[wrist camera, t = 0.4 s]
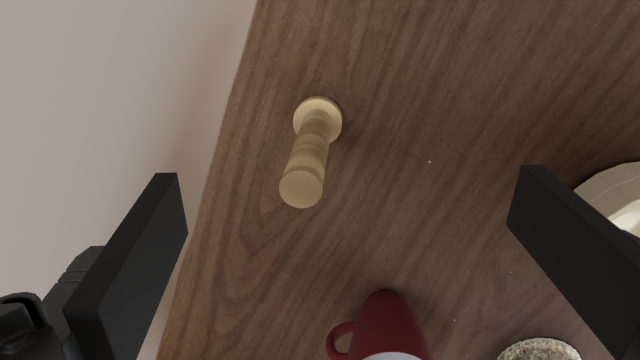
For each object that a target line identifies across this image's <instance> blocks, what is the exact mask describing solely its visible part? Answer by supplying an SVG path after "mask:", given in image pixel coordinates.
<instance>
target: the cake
mask: <svg viewBox="0 0 640 360" xmlns="http://www.w3.org/2000/svg"><path fill="white" fill-rule="evenodd" d="M497 360H581V358H580V356H579V354H578V353H577V351H576V350H575V349H573V348H572V346H570V345H568V344H566V343H565V342H561V341H559V340H554V339H551V338H549V339H548V338H547V339H546V338H532V339H527V340H524V341H519V342H517V343H516V344H512V345H511V346H509V347H508V348H506V349H505V350H504V351H503V352H501V354H500V355H499V356H498V357H497Z"/></svg>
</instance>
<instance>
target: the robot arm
mask: <svg viewBox="0 0 640 360" xmlns="http://www.w3.org/2000/svg"><path fill="white" fill-rule="evenodd" d="M506 225H507V227H508V228H509V229H510V230H511V232H512V233H513V234H514V235H515V236H516V238H517V239H518V240H519V241H520V243H521V244H522V245H523V246H524V248H525V249H526V250H527V251H528V253H529V254H530V255H531V256H532V257H533V259H534V260H535V261H536V262H537V264H538V265H539V266H540V267H541V269H542V270H543V271H544V272H545V273H546V275H547V276H548V277H549V278H550V280H551V281H552V282H553V283H554V285H555V286H556V287H557V288H558V289H559V291H560V292H561V293H562V294H563V296H564V297H565V298H566V299H567V301H568V302H569V303H570V304H571V305H572V307H573V308H574V309H575V310H576V312H577V313H578V314H579V315H580V317H581V318H582V319H583V320H584V322H585V323H586V324H587V325H588V326H589V328H590V329H591V330H592V331H593V333H594V334H595V335H596V336H597V338H598V339H599V340H600V341H601V342H602V344H603V345H604V346H605V347H606V349H607V350H608V351H609V352H610V354H611V355H612V356H613V357H614V358H615V360H640V238H639V237H637V236H635V235H633V234H632V233H630V232H628V231H626V230H621V229H620V228H618V227H617V226H616V225H615V224H613V223H612V222H611V221H610V220H609V219H607V218H606V217H605V216H604V215H602V214H601V213H600V212H599V211H597V210H596V209H595V208H594V207H592V206H591V205H590V204H589V203H588V202H586V201H585V200H584V199H583V198H581V197H580V196H579V195H578V194H576V193H575V192H574V191H573V190H571V189H570V188H569V187H568V186H566V185H565V184H564V183H563V182H562V181H560V180H559V179H558V178H557V177H555V176H554V175H553V174H552V173H550V172H549V171H548V170H547V169H545V168H544V167H543V166H542V165H521V169H520V173H519V176H518V180H517V184H516V187H515V191H514V195H513V199H512V202H511V206H510V210H509V213H508V217H507V221H506ZM187 235H188V230H187V224H186V219H185V213H184V208H183V203H182V198H181V192H180V187H179V182H178V177H177V173H155V175H154V176H153V178H152V179H151V181H150V182H149V183H148V185H147V186H146V188H145V189H144V191H143V192H142V194H141V195H140V196H139V198H138V200H137V201H136V203H135V204H134V205H133V207H132V208H131V209H130V211H129V212H128V214H127V215H126V217H125V218H124V220H123V221H122V222H121V224H120V225H119V227H118V228H117V230H116V231H115V233H114V234H113V235H112V237H111V238H110V240H109V241H108V243H107V244H106V246H91V247H89V248H88V249H86V250H85V251H84V252H82V253H81V254H80V255H78V256H77V257H75V259H74V260H73V262H72V263H71V264H70V265H69V267H68V268H67V269H66V272H65V273H63V274H62V276H61V277H60V278H59V280H58V283H56V284H55V285H54V286H53V287H52V289H51V290H50V291H49V293H48V294H47V295H46V297H45V298H44V299H43V301H42V302H41V299H40V298H39V297H38V296H37V295H36V294H33V293H28V292H21V293H13V294H10V295H7V296H4V297H0V360H136V359H137V356H138V354H139V351H140V348H141V347H142V344H143V342H144V339H145V337H146V335H147V332H148V329H149V327H150V325H151V322H152V320H153V318H154V315H155V313H156V310H157V308H158V306H159V303H160V301H161V298H162V296H163V293H164V291H165V288H166V286H167V284H168V281H169V279H170V276H171V274H172V272H173V269H174V267H175V264H176V262H177V259H178V257H179V254H180V252H181V250H182V247H183V245H184V242H185V240H186V237H187Z"/></svg>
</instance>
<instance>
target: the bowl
mask: <svg viewBox="0 0 640 360" xmlns="http://www.w3.org/2000/svg"><path fill="white" fill-rule="evenodd" d="M573 191H574V192H575V193H576V194H578V195H579V196H580V197H581V198H583V199H584V200H585V201H586V202H588V203H589V204H590V205H591V206H592V207H594V208H595V209H596V210H597V211H599V212H600V213H601V214H602V215H604V216H605V217H606V218H607V219H609V220H610V221H611V222H612V223H613V224H615V225H616V226H617V227H618V228H620V229H621V230H626V231H628V232H630V233H632V234H633V235H635V236H637V237H639V238H640V161H639V162H632V163H624V164H620V165H618V166H615V167H612V168H610V169H607V170H605V171H602V172H600V173H597V174H596V175H594V176H593V177H591V178H590V179H588V180H587V181H585V182H584V183H582V184H581V185H580V186H578V187H577V188H575V189H574V190H573Z"/></svg>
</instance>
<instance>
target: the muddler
mask: <svg viewBox="0 0 640 360" xmlns="http://www.w3.org/2000/svg"><path fill="white" fill-rule="evenodd" d="M293 127H294V130H295V132H296V134H297V137H296V140H295V143H294V146H293V148H292V151H291V154H290V156H289V159H288V162H287V165H286V167H285V170H284V173H283V176H282V178H281V181H280V184H279V191H280V195H281V197H282V198H283V200H284V201H285V202H286V203H288V204H289V205H291V206H293V207H296V208H308V207H311V206H313V205H314V204H316V203H317V202H318V201H319V199H320V197H321V195H322V189H323V182H324V175H325V168H326V161H327V155H328V148H329V143H331V142H333V141H334V140H335V139H336V138H337V137H338V135H339V134H340V131H341V128H342V114H341V111H340V109H339V107H338V105H337V104H336V103H335V102H334V101H332V100H331V99H329V98H327V97H324V96H312V97H309V98H307V99H305V100H303V101H302V102H301V103H300V104H299V105H298V107H297V109H296V111H295V113H294V117H293Z"/></svg>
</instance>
